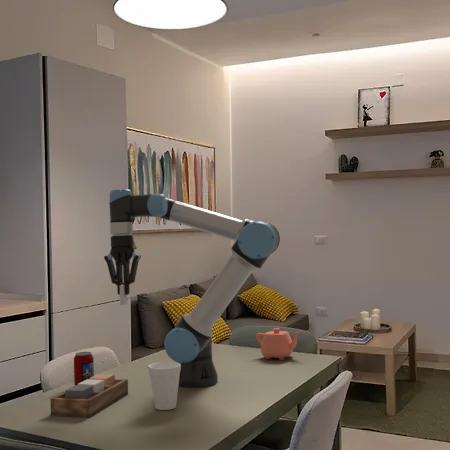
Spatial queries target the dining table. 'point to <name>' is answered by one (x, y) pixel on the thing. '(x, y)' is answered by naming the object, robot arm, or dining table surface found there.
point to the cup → (165, 383)
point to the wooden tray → (89, 401)
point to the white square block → (94, 384)
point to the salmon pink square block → (105, 379)
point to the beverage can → (83, 367)
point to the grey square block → (79, 392)
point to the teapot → (277, 343)
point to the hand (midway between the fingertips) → (123, 304)
